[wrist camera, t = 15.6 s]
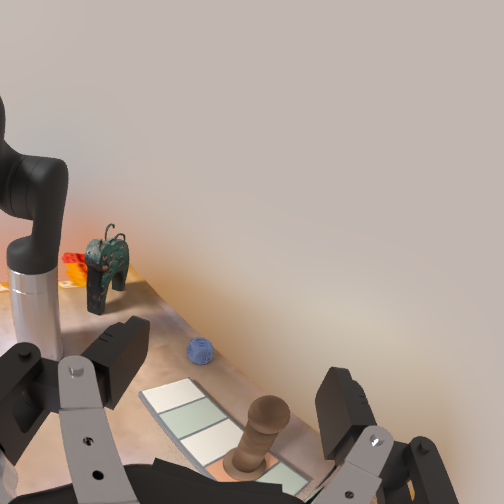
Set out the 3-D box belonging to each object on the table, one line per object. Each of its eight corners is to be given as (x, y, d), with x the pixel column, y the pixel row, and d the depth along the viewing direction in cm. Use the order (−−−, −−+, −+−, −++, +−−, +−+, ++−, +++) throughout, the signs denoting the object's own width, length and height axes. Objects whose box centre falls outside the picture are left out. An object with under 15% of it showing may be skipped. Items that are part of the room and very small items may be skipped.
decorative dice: (192, 365, 49) (195, 349, 48) (185, 353, 52) (188, 337, 51) (211, 363, 51) (215, 348, 50) (203, 352, 54) (207, 336, 53)
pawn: (213, 461, 27) (236, 395, 24) (244, 444, 32) (272, 377, 28) (243, 488, 24) (278, 429, 21) (272, 468, 28) (311, 405, 25)
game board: (138, 396, 36) (138, 391, 36) (188, 382, 44) (189, 376, 44) (259, 525, 19) (262, 522, 19) (307, 484, 27) (311, 480, 26)
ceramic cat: (100, 320, 53) (105, 232, 48) (77, 312, 52) (79, 226, 47) (130, 288, 72) (139, 218, 67) (110, 282, 71) (118, 213, 67)
